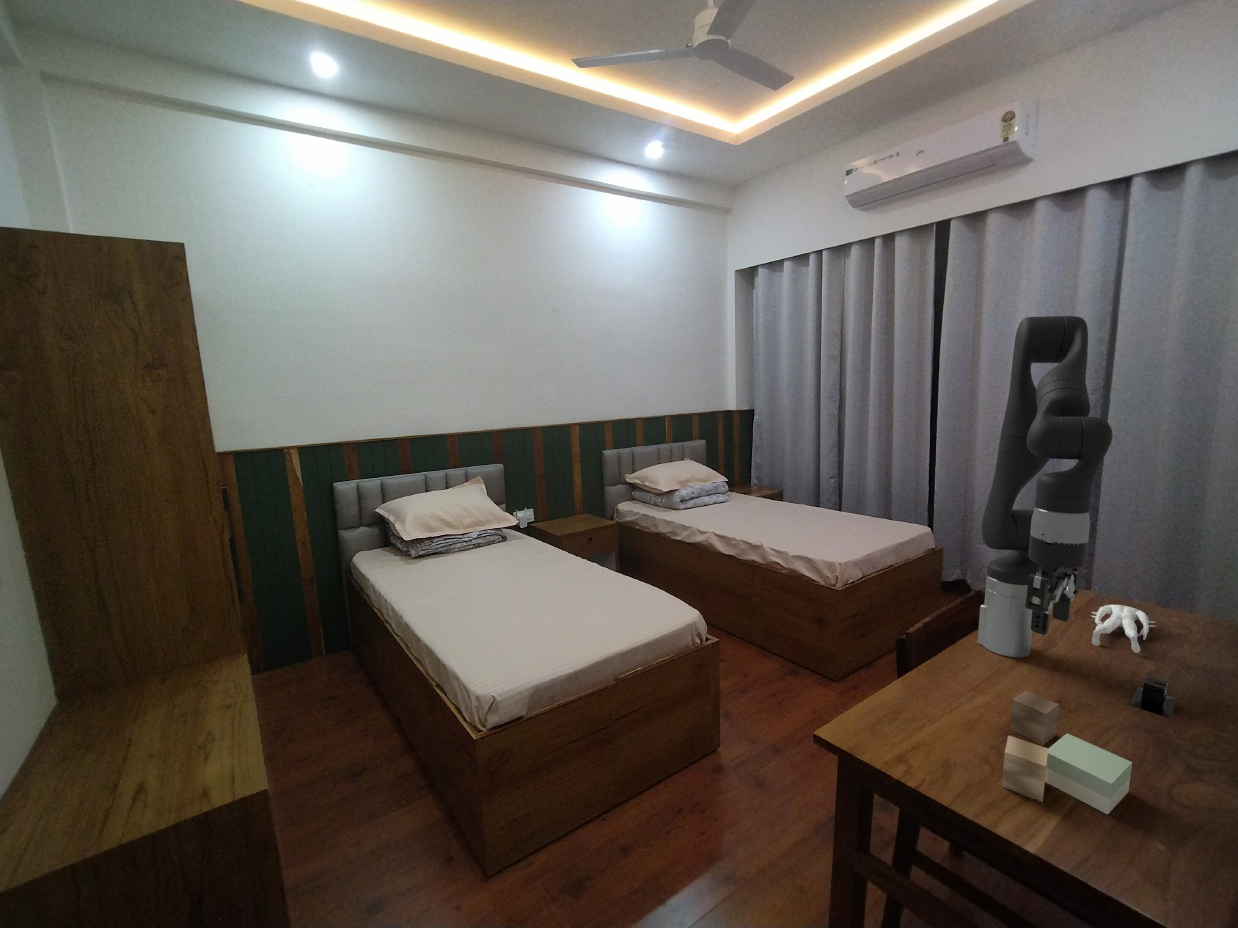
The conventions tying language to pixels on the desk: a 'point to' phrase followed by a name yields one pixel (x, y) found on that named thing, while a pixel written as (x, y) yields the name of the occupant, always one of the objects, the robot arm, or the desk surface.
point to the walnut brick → (1034, 717)
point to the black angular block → (1154, 698)
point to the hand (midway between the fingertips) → (1050, 625)
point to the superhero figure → (1121, 623)
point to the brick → (1025, 768)
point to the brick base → (1088, 772)
